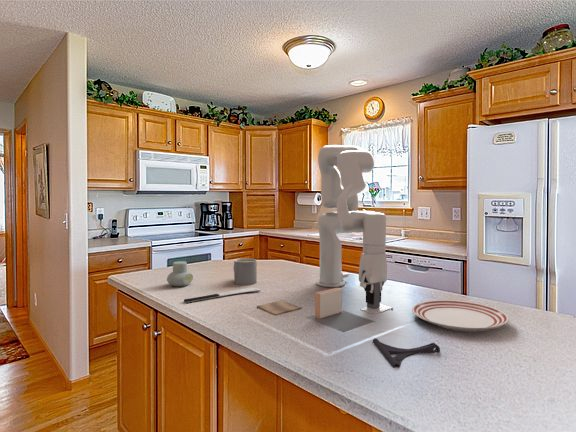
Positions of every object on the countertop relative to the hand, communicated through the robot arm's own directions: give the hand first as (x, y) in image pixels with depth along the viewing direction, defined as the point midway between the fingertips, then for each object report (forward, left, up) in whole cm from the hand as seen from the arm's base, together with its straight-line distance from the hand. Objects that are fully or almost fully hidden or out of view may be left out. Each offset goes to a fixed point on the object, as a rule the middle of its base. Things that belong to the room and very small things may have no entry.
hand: (373, 301), depth 127 cm
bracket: (+20, +28, -4) cm, 34 cm away
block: (+17, -4, -2) cm, 18 cm away
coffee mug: (+13, -62, -3) cm, 64 cm away
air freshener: (+38, -74, -3) cm, 84 cm away
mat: (+17, +1, -3) cm, 17 cm away
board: (+25, -20, -3) cm, 32 cm away
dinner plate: (-12, +24, -3) cm, 27 cm away
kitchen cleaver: (+31, -49, -3) cm, 59 cm away
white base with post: (0, +2, -3) cm, 3 cm away
